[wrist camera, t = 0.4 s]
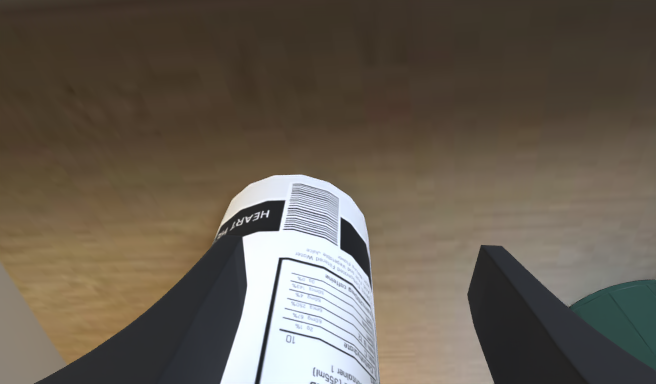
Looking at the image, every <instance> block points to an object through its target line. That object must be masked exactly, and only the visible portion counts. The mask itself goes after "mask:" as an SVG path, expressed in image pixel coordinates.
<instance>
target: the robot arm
mask: <svg viewBox="0 0 656 384" xmlns="http://www.w3.org/2000/svg"><path fill="white" fill-rule="evenodd" d="M247 286H248V285H247V275H246V265H245V256H244V246H243V236H233V235H222V236H221V237H220V238H219V239H218V240H217V241H216V242H215V243H214V244H213V246H212V247H211V248H210V249H209V250H208V251H207V252H206V253H205V255H204V256H203V257H202V258H201V259H200V260H199V261H198V262H197V263H196V264H195V265H194V266H193V267H192V269H191V270H190V271H189V272H188V273H187V274H186V275H185V276H184V277H183V278H182V279H181V280H180V281H179V282H178V283H177V284H176V285H175V286H174V287H173V288H171V289H170V290H169V291H168V292H167V293H166V294H165V295H164V296H163V297H162V298H161V299H160V300H159V301H157V302H156V303H155V304H154V305H153V306H152V307H151V308H149V309H148V310H147V311H146V312H145V313H143V314H142V315H141V316H140V317H138V318H137V319H136V320H135V321H133V322H132V323H131V324H130V325H128V326H127V327H126V328H124V329H123V330H121V331H120V332H118V333H117V334H116V335H114V336H113V337H111V338H110V339H108V340H107V341H105V342H104V343H102V344H101V345H100V346H98V347H97V348H95V349H94V350H92V351H90V352H89V353H87V354H86V355H84V356H82V357H81V358H79V359H77V360H76V361H74V362H72V363H71V364H69V365H67V366H66V367H64V368H62V369H61V370H59V371H57V372H55V373H53V374H52V375H50V376H48V377H46V378H44V379H43V380H40V381H38V382H36V383H34V384H220V383H221V380H222V377H223V374H224V371H225V368H226V365H227V361H228V358H229V355H230V352H231V349H232V346H233V343H234V340H235V336H236V333H237V330H238V327H239V324H240V320H241V317H242V313H243V308H244V303H245V297H246V291H247ZM467 295H468V300H469V305H470V310H471V315H472V319H473V324H474V327H475V330H476V333H477V336H478V339H479V342H480V345H481V347H482V350H483V353H484V356H485V359H486V361H487V364H488V367H489V370H490V373H491V375H492V378H493V381H494V384H656V370H654V369H653V368H651V367H649V366H648V365H646V364H645V363H643V362H642V361H640V360H638V359H637V358H635V357H634V356H632V355H631V354H629V353H628V352H626V351H625V350H623V349H622V348H620V347H619V346H618V345H616V344H615V343H614V342H612V341H611V340H609V339H608V338H607V337H605V336H604V335H602V334H601V333H600V332H598V331H597V330H596V329H594V328H593V327H592V326H590V325H589V324H588V323H587V322H585V321H584V320H583V319H582V318H580V317H579V316H578V315H577V314H576V313H574V312H573V311H572V310H571V309H570V308H568V307H567V306H566V305H565V304H564V303H563V302H561V301H560V300H559V299H558V298H557V297H556V296H555V295H553V294H552V293H551V292H550V291H549V290H548V289H547V288H546V287H545V286H543V285H542V284H541V283H540V282H539V281H538V280H537V279H536V278H535V277H534V276H533V275H532V274H531V273H530V272H529V271H528V270H526V269H525V268H524V267H523V266H522V265H521V264H520V263H519V262H518V261H517V260H516V259H515V258H514V257H513V256H512V255H511V254H510V253H509V252H508V251H506V250H505V249H504V248H503V247H502V246H489V245H481V247H480V251H479V254H478V258H477V262H476V265H475V269H474V272H473V276H472V280H471V283H470V287H469V291H468V294H467Z"/></svg>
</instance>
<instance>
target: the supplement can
mask: <svg viewBox="0 0 656 384" xmlns="http://www.w3.org/2000/svg"><path fill="white" fill-rule="evenodd" d="M222 235H233V236H243V246H244V256H245V265H246V275H247V285H248V286H247V291H246V297H245V303H244V308H243V313H242V317H241V320H240V324H239V327H238V330H237V333H236V336H235V340H234V343H233V346H232V349H231V352H230V355H229V358H228V361H227V365H226V368H225V371H224V374H223V377H222V380H221V383H220V384H380V375H379V362H378V350H377V338H376V325H375V313H374V300H373V288H372V276H371V263H370V251H369V239H368V233H367V228H366V223H365V219H364V215H363V214H362V213H361V211H360V210H359V208H358V207H357V206H356V204H355V203H354V201H353V200H352V199H351V197H350V196H348V195H347V194H345V193H344V192H342V191H341V190H339V189H338V188H336V187H335V186H333V185H332V184H330V183H329V182H326V181H322V180H319V179H315V178H312V177H308V176H305V175H274V176H272V177H269V178H266V179H263V180H260V181H258V182H255V183H252V184H250V185H248V186H247V187H246V188H245V189H244V190H243V191H241V192H240V193H239V194H238V195H237V196H236V197H234V198H233V199H232V201H231V203H230V205H229V207H228V209H227V211H226V213H225V216H224V218H223V220H222V222H221V225H220V227H219V230H218V232H217V234H216V237H215V239H214V242H213V244H214V243H215V242H216V241H217V240H218V239H219V238H220V237H221V236H222ZM213 244H212V246H213ZM212 246H211V247H212Z"/></svg>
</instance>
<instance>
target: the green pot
mask: <svg viewBox="0 0 656 384" xmlns="http://www.w3.org/2000/svg"><path fill="white" fill-rule="evenodd" d="M570 309H571V310H572V311H573V312H574V313H576V314H577V315H578V316H579V317H580V318H582V319H583V320H584V321H585V322H587V323H588V324H589V325H590V326H592V327H593V328H594V329H596V330H597V331H598V332H600V333H601V334H602V335H604V336H605V337H607V338H608V339H609V340H611V341H612V342H614V343H615V344H616V345H618V346H619V347H620V348H622V349H623V350H625V351H626V352H628V353H629V354H631V355H632V356H634V357H635V358H637V359H638V360H640V361H642V362H643V363H645V364H646V365H648V366H649V367H651V368H653V369H654V370H656V280H641V281H633V282H627V283H622V284H619V285H615V286H611V287H608V288H606V289H603V290H600V291H598V292H595V293H593V294H591V295H589V296H587V297H585V298H583V299H582V300H580V301H578V302H577V303H575V304H574V305H572V306H571V307H570Z"/></svg>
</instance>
